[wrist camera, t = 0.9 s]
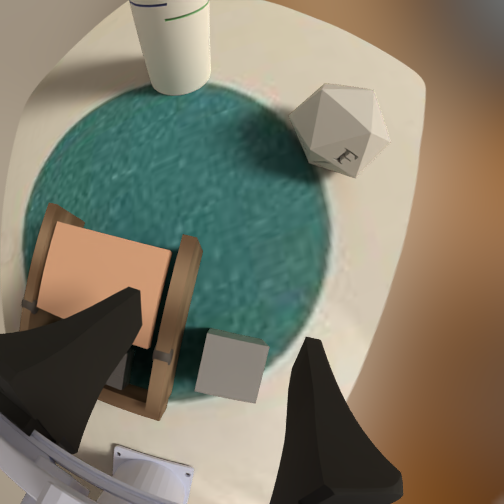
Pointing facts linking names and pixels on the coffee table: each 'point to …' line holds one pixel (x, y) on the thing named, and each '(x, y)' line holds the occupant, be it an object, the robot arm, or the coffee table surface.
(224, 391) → the stone
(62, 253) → the trapdoor
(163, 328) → the frame
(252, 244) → the coffee table surface
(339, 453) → the robot arm
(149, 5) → the cylindrical container
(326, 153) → the die
